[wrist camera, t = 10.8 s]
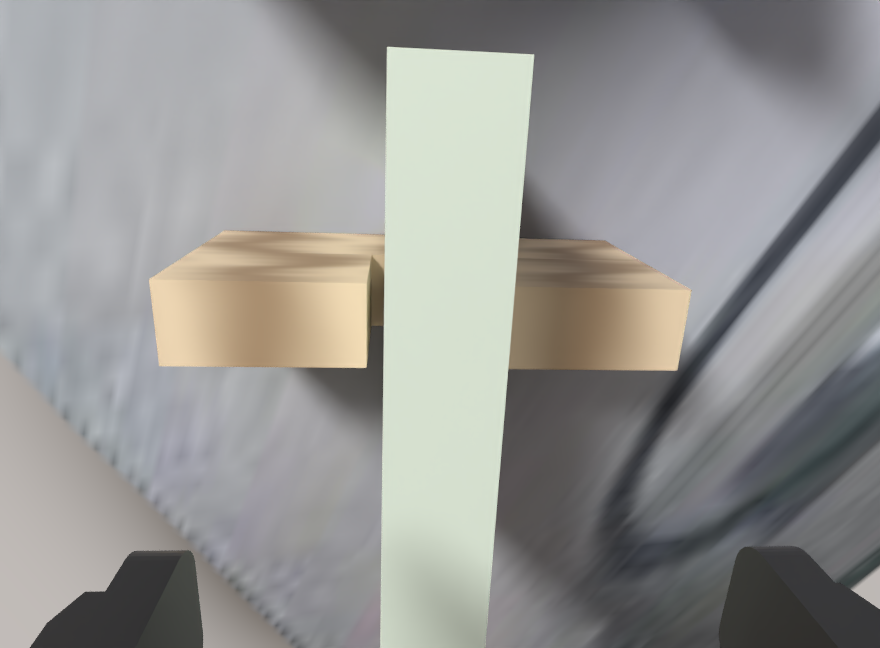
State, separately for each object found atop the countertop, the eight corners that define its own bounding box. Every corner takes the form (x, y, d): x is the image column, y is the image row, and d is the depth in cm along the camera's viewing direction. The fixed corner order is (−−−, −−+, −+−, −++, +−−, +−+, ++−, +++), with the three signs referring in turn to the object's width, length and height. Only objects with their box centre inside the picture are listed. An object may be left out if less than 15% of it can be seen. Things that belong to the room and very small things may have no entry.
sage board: (459, 90, 26) (534, 54, 12) (443, 415, 31) (484, 657, 17) (391, 86, 26) (387, 46, 12) (386, 415, 31) (380, 660, 17)
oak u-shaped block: (604, 240, 29) (691, 289, 21) (597, 299, 30) (677, 370, 22) (224, 230, 28) (149, 279, 19) (229, 293, 29) (159, 366, 20)
